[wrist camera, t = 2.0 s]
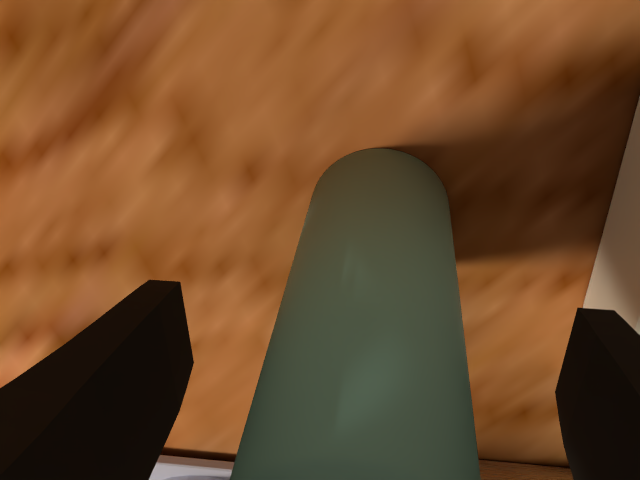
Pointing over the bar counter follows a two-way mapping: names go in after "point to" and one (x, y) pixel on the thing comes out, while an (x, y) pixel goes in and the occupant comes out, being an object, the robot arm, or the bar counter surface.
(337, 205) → the peg
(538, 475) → the grey angle bracket
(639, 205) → the socket block
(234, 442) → the bar counter surface
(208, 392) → the bar counter surface
